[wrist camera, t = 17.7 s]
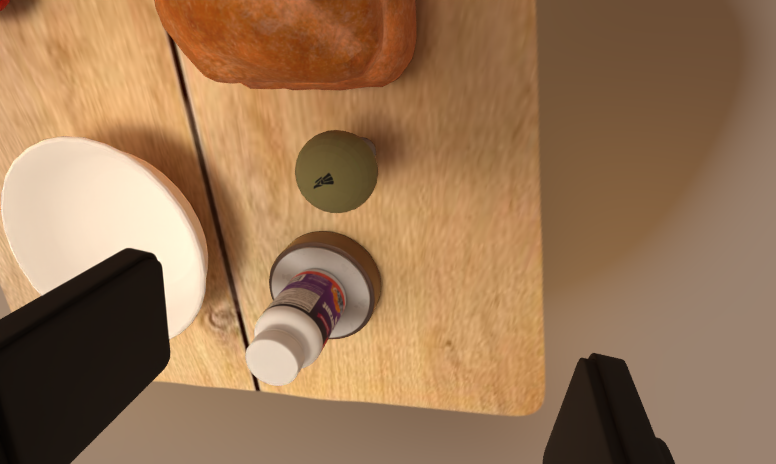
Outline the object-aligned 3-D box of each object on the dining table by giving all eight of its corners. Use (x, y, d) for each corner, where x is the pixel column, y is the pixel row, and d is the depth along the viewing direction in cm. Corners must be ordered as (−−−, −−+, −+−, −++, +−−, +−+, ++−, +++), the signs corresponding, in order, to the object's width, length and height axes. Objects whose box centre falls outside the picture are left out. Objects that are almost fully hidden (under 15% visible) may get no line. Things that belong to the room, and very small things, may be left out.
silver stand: (281, 221, 42) (268, 233, 40) (387, 243, 41) (380, 256, 38) (279, 311, 46) (266, 327, 44) (374, 334, 45) (367, 352, 42)
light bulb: (358, 100, 36) (313, 120, 27) (410, 147, 37) (383, 182, 28) (318, 151, 39) (265, 185, 30) (368, 195, 39) (330, 241, 30)
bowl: (25, 174, 46) (-41, 194, 41) (161, 84, 39) (104, 92, 34) (140, 331, 51) (96, 368, 46) (279, 276, 44) (247, 311, 39)
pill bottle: (345, 325, 42) (306, 401, 33) (290, 312, 42) (236, 384, 34) (350, 273, 39) (308, 340, 31) (291, 261, 40) (234, 323, 31)
